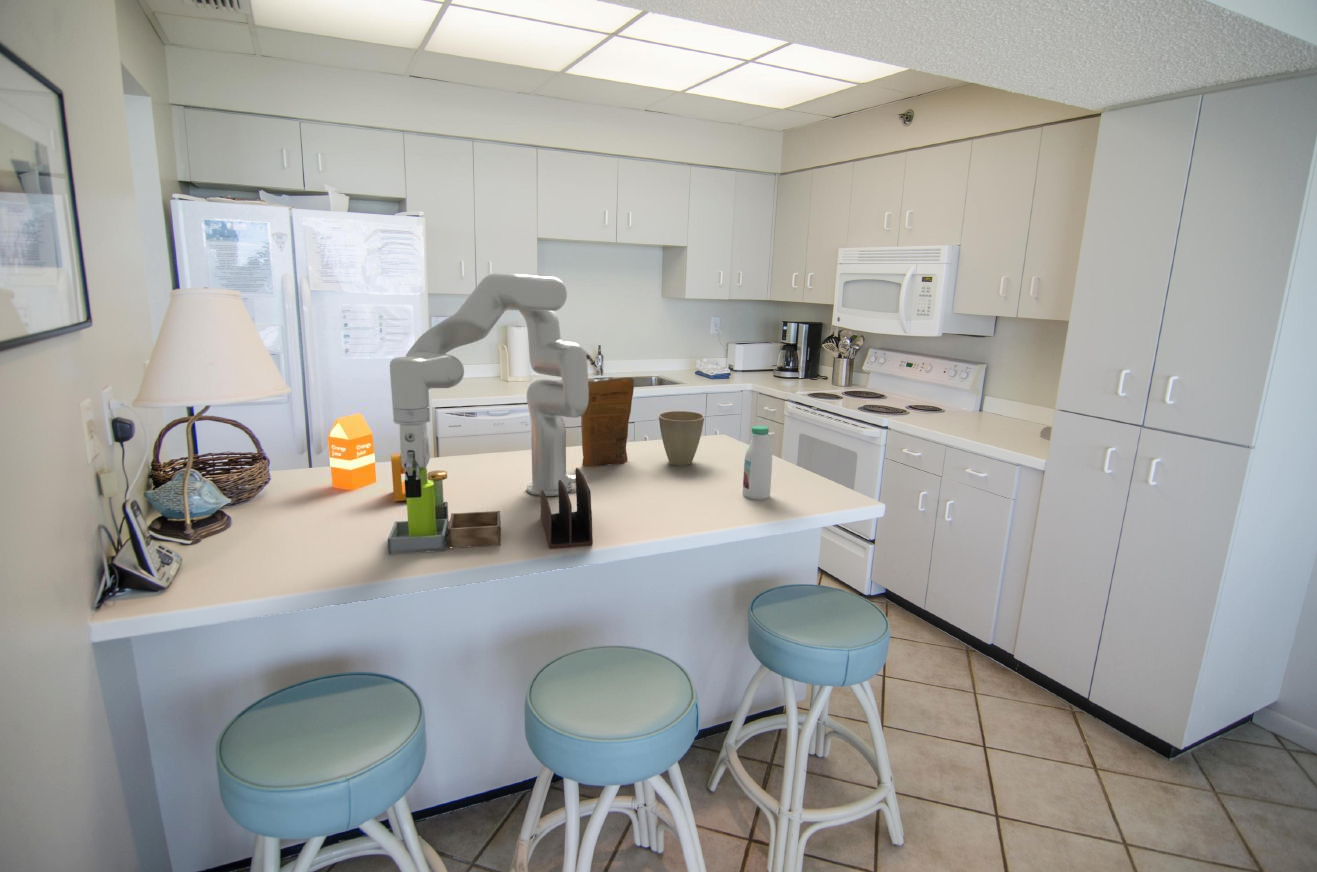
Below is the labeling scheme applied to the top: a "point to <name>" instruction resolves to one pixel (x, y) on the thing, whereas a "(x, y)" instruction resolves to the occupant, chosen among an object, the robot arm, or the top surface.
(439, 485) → the plunger
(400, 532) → the tray
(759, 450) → the milk bottle
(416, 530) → the soap dispenser
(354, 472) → the orange juice
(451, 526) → the wooden box
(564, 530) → the letter holder
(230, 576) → the top surface
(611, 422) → the pancake mix bag
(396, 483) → the bracket
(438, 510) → the plunger collar
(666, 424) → the plant pot
